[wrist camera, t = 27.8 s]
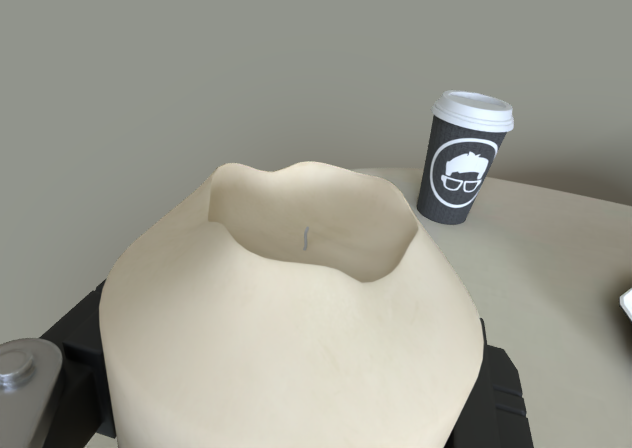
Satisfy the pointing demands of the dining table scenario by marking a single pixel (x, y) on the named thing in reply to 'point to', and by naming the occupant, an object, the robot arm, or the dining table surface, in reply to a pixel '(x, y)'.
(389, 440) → the candle
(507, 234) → the dining table surface
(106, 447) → the dining table surface
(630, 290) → the plate
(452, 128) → the coffee cup
